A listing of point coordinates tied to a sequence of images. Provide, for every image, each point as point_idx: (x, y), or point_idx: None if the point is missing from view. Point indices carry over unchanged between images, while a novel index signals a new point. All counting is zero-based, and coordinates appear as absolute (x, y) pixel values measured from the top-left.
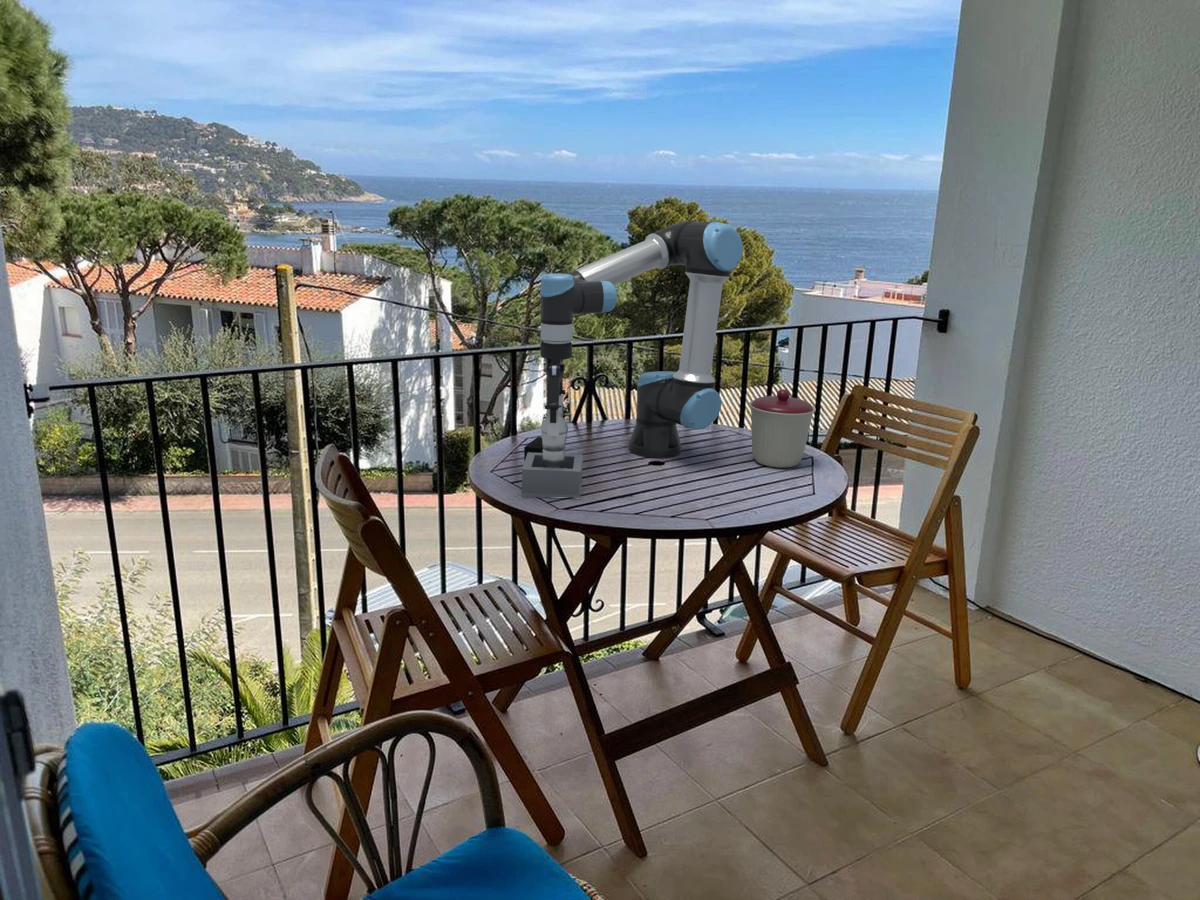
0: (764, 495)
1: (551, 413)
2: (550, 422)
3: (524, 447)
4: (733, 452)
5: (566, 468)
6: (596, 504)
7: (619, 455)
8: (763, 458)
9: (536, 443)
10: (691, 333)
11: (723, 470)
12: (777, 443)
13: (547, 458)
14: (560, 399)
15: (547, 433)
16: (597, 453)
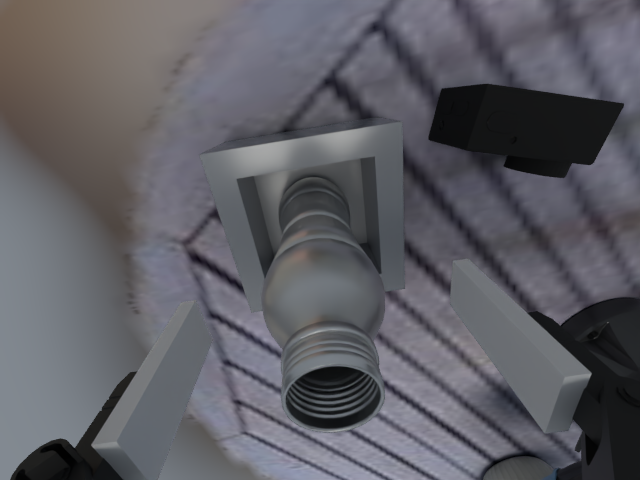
0: (366, 469)
1: (88, 441)
2: (128, 377)
3: (486, 84)
4: (568, 431)
5: (372, 237)
6: (246, 302)
7: (573, 288)
8: (498, 477)
9: (529, 122)
10: None
11: (473, 429)
12: None
13: (283, 227)
14: (526, 395)
15: (176, 310)
16: (595, 244)
